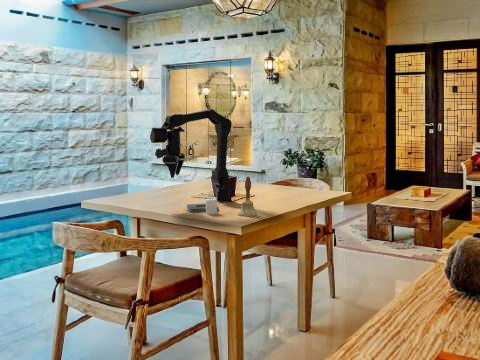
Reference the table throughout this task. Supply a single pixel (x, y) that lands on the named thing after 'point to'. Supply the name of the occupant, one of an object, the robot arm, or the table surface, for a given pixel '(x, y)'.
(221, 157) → the robot arm
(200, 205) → the outlet plate
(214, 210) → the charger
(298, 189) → the table surface
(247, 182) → the hand bell
